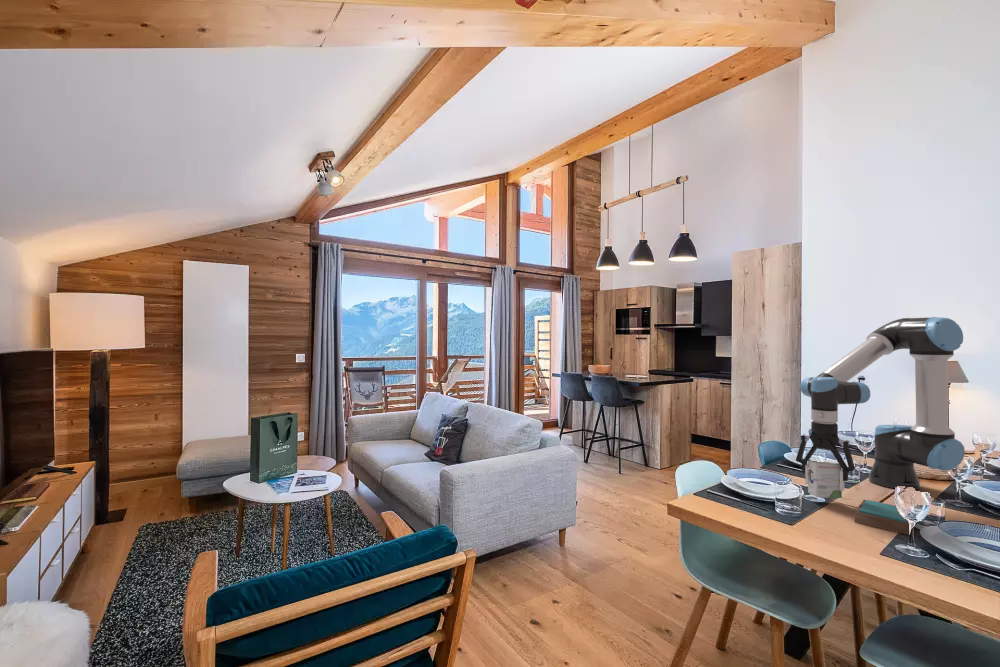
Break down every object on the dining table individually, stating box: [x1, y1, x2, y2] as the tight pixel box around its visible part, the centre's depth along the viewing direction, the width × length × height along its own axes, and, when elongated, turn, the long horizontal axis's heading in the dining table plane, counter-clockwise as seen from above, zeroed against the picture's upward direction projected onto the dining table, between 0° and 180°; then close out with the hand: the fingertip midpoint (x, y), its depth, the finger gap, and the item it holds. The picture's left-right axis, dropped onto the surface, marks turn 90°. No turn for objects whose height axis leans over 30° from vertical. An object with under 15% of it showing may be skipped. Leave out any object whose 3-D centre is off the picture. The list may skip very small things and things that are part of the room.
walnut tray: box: [854, 499, 909, 536], centre depth 145 cm, size 16×13×4 cm
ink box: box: [807, 459, 843, 499], centre depth 160 cm, size 9×5×12 cm, turn 84°
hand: (824, 486), depth 160 cm, fingers closed on ink box, 9 cm apart
